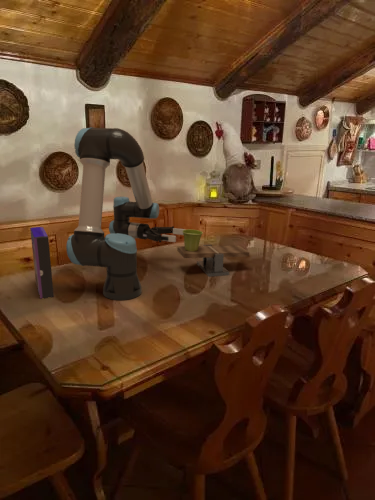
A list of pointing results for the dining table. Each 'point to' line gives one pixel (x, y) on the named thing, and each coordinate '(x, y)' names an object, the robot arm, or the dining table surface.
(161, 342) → the dining table surface
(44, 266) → the cereal box
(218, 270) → the beam stand
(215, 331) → the dining table surface
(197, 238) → the plant pot
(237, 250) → the balance beam
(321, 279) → the dining table surface
